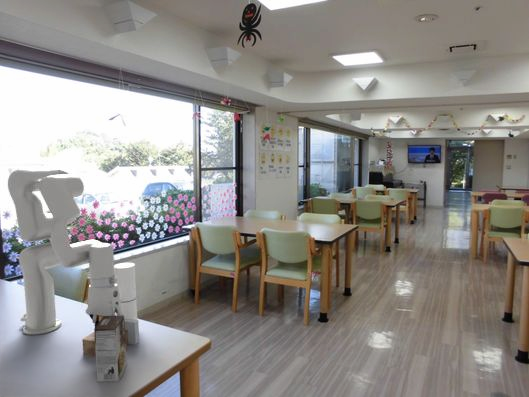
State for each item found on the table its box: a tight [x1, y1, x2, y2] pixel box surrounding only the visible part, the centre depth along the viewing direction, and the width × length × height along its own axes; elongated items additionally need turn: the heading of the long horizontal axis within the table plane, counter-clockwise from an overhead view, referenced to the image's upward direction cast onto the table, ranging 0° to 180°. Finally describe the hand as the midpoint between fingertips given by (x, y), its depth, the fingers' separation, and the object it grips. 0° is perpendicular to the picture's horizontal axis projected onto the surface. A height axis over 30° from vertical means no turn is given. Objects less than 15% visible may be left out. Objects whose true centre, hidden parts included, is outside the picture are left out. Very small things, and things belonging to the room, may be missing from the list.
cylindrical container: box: [114, 262, 138, 320], centre depth 144 cm, size 7×7×25 cm
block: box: [81, 330, 129, 357], centre depth 133 cm, size 10×10×5 cm
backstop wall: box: [124, 318, 140, 346], centre depth 138 cm, size 16×2×8 cm, turn 73°
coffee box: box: [93, 316, 128, 383], centre depth 117 cm, size 9×6×16 cm
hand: (105, 333), depth 132 cm, fingers open, 4 cm apart
